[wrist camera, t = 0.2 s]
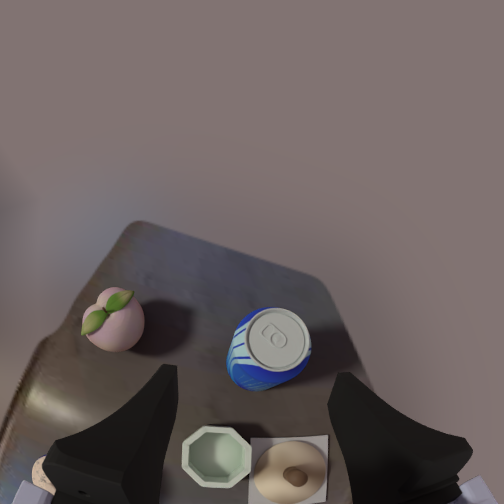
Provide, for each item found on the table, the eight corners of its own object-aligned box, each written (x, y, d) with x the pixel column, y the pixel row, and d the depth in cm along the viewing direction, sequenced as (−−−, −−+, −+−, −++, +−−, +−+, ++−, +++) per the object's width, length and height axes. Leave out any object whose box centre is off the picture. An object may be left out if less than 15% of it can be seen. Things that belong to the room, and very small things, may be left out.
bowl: (246, 482, 33) (250, 488, 29) (183, 478, 32) (181, 484, 28) (248, 427, 37) (252, 428, 34) (185, 422, 36) (183, 424, 33)
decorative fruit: (125, 371, 39) (104, 359, 30) (88, 336, 40) (61, 316, 32) (163, 324, 43) (152, 301, 35) (125, 293, 45) (107, 264, 36)
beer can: (277, 334, 45) (309, 295, 31) (286, 387, 41) (325, 372, 27) (222, 340, 43) (230, 302, 30) (229, 395, 39) (241, 386, 26)
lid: (322, 499, 31) (334, 506, 27) (252, 504, 30) (257, 514, 26) (324, 438, 37) (337, 440, 33) (254, 441, 36) (260, 445, 32)
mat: (324, 500, 32) (325, 501, 31) (248, 506, 30) (248, 507, 30) (327, 434, 37) (328, 435, 37) (250, 437, 36) (250, 437, 36)
